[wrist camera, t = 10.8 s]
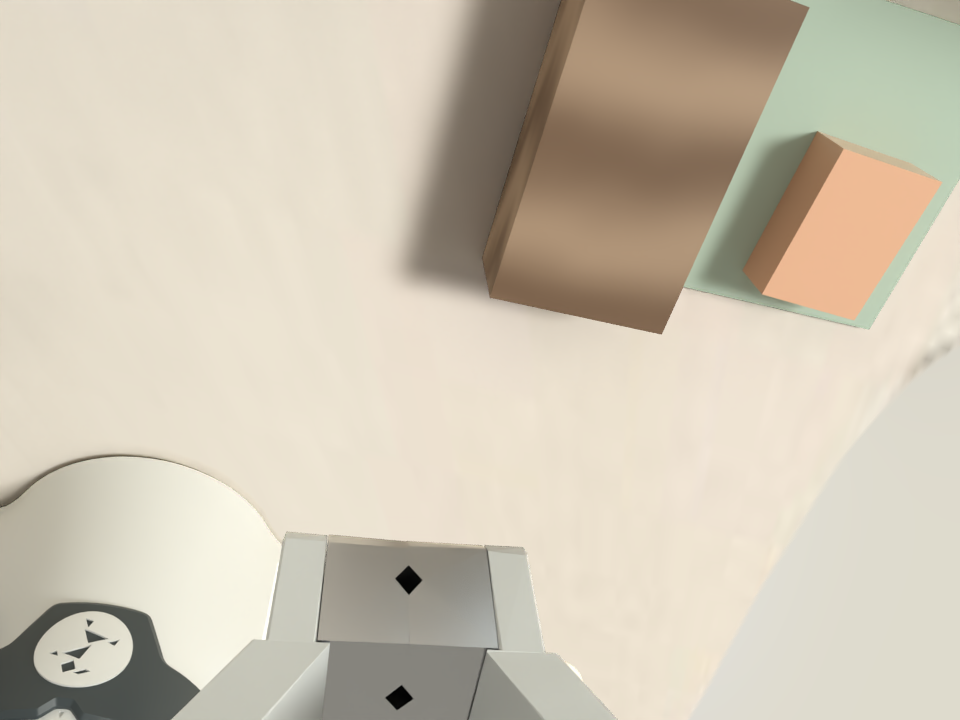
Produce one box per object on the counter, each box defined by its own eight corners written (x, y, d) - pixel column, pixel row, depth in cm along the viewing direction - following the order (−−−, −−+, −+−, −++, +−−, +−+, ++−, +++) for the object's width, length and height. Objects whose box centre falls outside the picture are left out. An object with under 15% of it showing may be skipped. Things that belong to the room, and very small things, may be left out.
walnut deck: (639, 293, 39) (661, 334, 36) (482, 257, 38) (490, 297, 34) (767, -9, 33) (809, 7, 29) (582, -69, 31) (604, -59, 28)
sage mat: (865, 325, 42) (869, 329, 41) (661, 278, 39) (663, 282, 39) (1030, 48, 35) (1036, 50, 34) (795, -30, 32) (799, -29, 32)
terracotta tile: (762, 294, 37) (742, 270, 39) (854, 320, 38) (830, 295, 40) (843, 148, 33) (817, 131, 35) (942, 182, 34) (911, 163, 37)
